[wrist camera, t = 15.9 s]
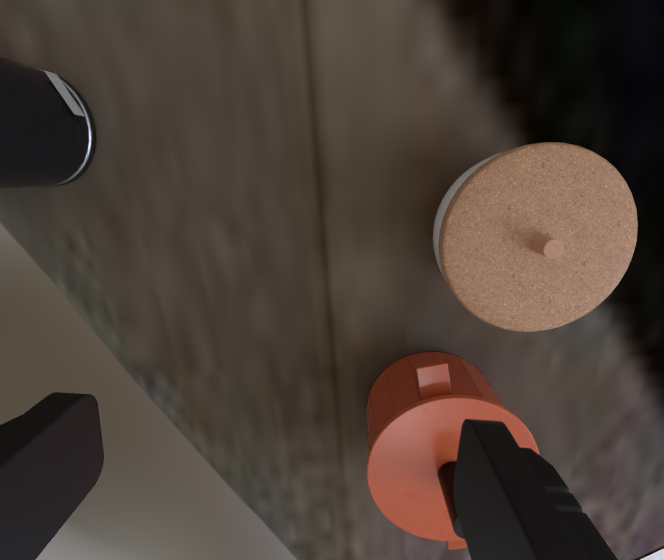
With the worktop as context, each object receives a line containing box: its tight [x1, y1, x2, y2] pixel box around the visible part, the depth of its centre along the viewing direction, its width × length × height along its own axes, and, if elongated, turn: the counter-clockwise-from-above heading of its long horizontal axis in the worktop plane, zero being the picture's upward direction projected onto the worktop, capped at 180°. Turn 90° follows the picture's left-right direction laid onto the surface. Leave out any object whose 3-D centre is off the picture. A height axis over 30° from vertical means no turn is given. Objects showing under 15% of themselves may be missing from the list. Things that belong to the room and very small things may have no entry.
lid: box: [367, 395, 539, 541], centre depth 30 cm, size 13×13×6 cm
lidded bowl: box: [433, 142, 638, 332], centre depth 30 cm, size 13×13×11 cm
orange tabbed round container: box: [366, 352, 504, 550], centre depth 36 cm, size 12×18×8 cm
